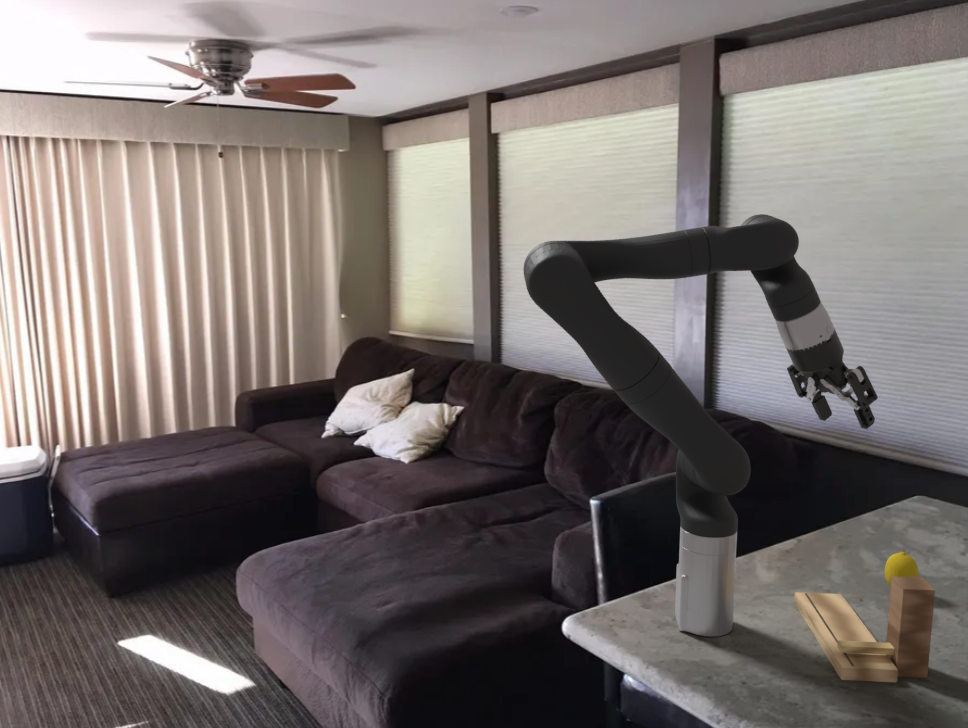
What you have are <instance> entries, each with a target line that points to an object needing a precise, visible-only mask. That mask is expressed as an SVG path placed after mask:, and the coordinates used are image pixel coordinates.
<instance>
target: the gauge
mask: <svg viewBox="0 0 968 728" xmlns="http://www.w3.org/2000/svg"><path fill="white" fill-rule="evenodd" d="M889 593H890V594H889V605H888V617H887V618H888V620H887V629H886V642H880V641H879V642H861V641H839V640H838V643H837V647H838V648H839V650H840V652H845V653H866V654H886V655H887V656H888V657H889V659H890V660H891V661H892V663H893V664H894V665H895V667H896V668H897V669H898V677H899V678H914V679H915V678H919V679H921V678H922V679H928V673H929V663H930V662H929V661H930V653H931V651H930V650H931V642H932V641H931V640H932V629H933V619H934V617H933V616H934V606H935V597H936V590H935V588H934V587H933V586H932V585H930V583H929V582H927V581H926V580H925V578H923V577H919V576H918V577H893V576H892V579H891V586H890V591H889ZM898 677H897V678H898Z"/></svg>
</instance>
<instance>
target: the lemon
mask: <svg viewBox="0 0 968 728" xmlns="http://www.w3.org/2000/svg"><path fill="white" fill-rule="evenodd" d="M892 576H893V577H919V568H918V564H917V562H916V560H915V559H914V558H913V557H912V556H911V555H909V554H908V553H906V552H905V551H899V552H896V553H894V554H891V556H889V558H887V561H886V562H885V567H884V579H885V581H886V583H887V584H888V586H890V587H891V579H892Z"/></svg>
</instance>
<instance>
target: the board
mask: <svg viewBox="0 0 968 728" xmlns="http://www.w3.org/2000/svg"><path fill="white" fill-rule="evenodd" d="M794 604H795V606H796V608H797V610H798V611H799V612H800V615H801V616H802V618H803V619H804V621H805V623H806V624H807V626H808V627H809V629H810V631H811V632H812V634H813V636H814V637H815V639H816V641H817V642H818V644H819V646H820V647H821V649H822V651H823V652H824V654H825V657H827V659H828V661H829V662H830V664H831V665H832V667H833V668H834V670H835V673H836V674H837V675H838V677H839V678H840V680H841V681H855V682H856V681H857V682H858V681H859V682H876V683H877V682H880V683H898V669H897V668H896V667H895V665H894V664H893V663H892V661H891V660H890V659H889V657H888V656H887V655H886V654H866V653H845V652H840V650H839V648H838V647H837V643H838V640H839V641H861V642H877V640H876V638H875V637H874V636H873V635H872V633H871V632H870V631H869V630H868V628H867V627H866V625H865V624H864V623H863V621H862V620H861V619H860V617H859V616H858V615H857V613H856V612H855V611H854V610H853V608H852V606H851V605H850V604H849V603H848V601H847V600H846V599H845V598H844V596H843V594H841V593H828V592H827V593H826V592H825V593H821V592H798V591H797V592H794Z"/></svg>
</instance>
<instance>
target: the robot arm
mask: <svg viewBox="0 0 968 728" xmlns="http://www.w3.org/2000/svg"><path fill="white" fill-rule="evenodd" d="M799 239H800V238H799V235H798V233H797V231H796V229H795V228H794V227H793V225H791V224H790V223H789V222H787V221H785V220H783V219H780V218H777V217H775V216H773V215H768V214H754V215H751V216H750V217H748V218H746V219H745V220H744V221H743V222H742V223H741V225H737V226H729V227H723V226H718V225H707V226H701V227H694V228H693V227H692V228H687V229H681V230H676V231H675V230H674V231H670V232H665V233H659V234H651V235H644V236H637V237H636V236H635V237H629V238H628V237H627V238H620V239H619V238H616V239H602V240H548V241H545V242H542V243H540V244H538V245H536V246H534V247H533V248H532V249H531V250H530V251H529V252H528V254H527V255H526V257H525V259H524V263H523V277H524V281H525V287H526V290H527V293H528V295H529V297H530V298H531V300H532V301H533V302H534V303H535V305H536V306H537V307H538V308H539V309H541V310H542V312H544V313H545V314H546V315H547V316H548V317H549V318H551V319H552V321H554V322H556V324H557V325H558V326H559V327H560V328H562V330H564V331H565V333H566V334H568V335H569V336H570V337H571V338H572V339H573V340H574V341H575V342H576V343H577V345H578V346H579V347H580V348H581V349H582V351H583V352H584V353H585V355H586V356H587V359H589V361H590V362H591V363H592V365H593V366H594V368H595V369H596V370H597V371H598V372H599V374H600V376H602V377H601V378H603V379H604V380H605V382H606V383H607V385H608V386H609V387H610V388H611V389H612V390H613V392H615V394H616V395H617V396H618V397H619V399H620V400H621V401H622V402H623V403H624V404H625V405H626V406H627V407H628V408H629V409H630V410H631V411H632V412H633V413H635V414H636V415H637V416H638V417H640V419H642V420H643V421H644V422H646V423H647V424H648V425H649V426H651V427H652V428H653V429H654V430H656V431H657V432H659V433H660V434H661V435H663V436H664V437H665V438H666V439H667V440H668V441H670V442H671V443H672V444H673V445H674V446H675V447H676V448H677V449H678V451H677V455H676V461H675V498H676V499H675V501H676V506H677V508H676V509H677V511H678V514H679V518H680V522H679V523H680V527H679V528H680V529H679V530H680V531H679V552H678V557H679V558H678V563H677V564H676V571H675V572H676V573H675V575H676V577H675V600H674V603H675V604H674V617H675V619H676V620H675V621H676V624H677V627H678V630H679V631H680V632H687V633H690V634H694V635H697V636H701V637H720V636H725V635H727V634H729V633H730V632H732V630H733V627H734V622H733V621H734V605H735V584H736V583H735V582H736V565H737V564H736V563H737V561H736V559H737V542H738V527H739V526H738V525H739V524H738V523H739V520H738V515H737V512H736V510H735V508H734V507H733V506H732V505H731V503H730V501H729V499H728V497H727V496H731V495H735V494H737V493H739V492H741V491H742V490H744V488H746V487H747V485H748V483H749V481H750V478H751V472H752V471H751V469H752V467H751V461H750V457H749V455H748V453H747V452H746V450H745V449H744V447H743V446H742V445H741V444H740V443H739V441H737V440H736V439H735V438H734V437H733V436H731V434H729V433H728V432H727V431H726V430H725V429H724V428H723V427H722V426H721V425H720V424H719V423H718V422H717V421H715V419H714V418H713V417H712V416H711V415H710V414H709V413H708V412H707V410H706V409H705V408H704V406H703V405H702V404H701V403H700V402H699V400H698V399H697V397H696V395H694V394H693V392H692V390H690V388H689V387H688V385H686V383H685V382H684V381H683V380H682V378H681V377H680V376H679V374H678V373H677V372H676V371H675V369H674V368H673V367H672V365H671V364H670V363H669V361H668V360H667V359H666V358H665V357H664V356H663V354H662V353H661V352H660V351H659V350H658V349H657V347H656V346H655V345H654V344H653V343H652V342H651V341H650V340H649V339H648V338H647V337H646V336H645V335H644V334H642V333H641V332H640V331H639V330H638V329H636V328H635V327H634V326H633V325H632V324H630V323H628V321H626V320H624V318H622V317H621V316H620V315H619V314H618V312H616V311H615V309H614V308H613V306H611V304H610V303H609V302H608V300H607V298H606V297H605V296H604V294H603V293H602V292H601V290H600V289H599V287H598V285H597V284H596V283H598V282H603V281H604V282H605V281H610V280H611V281H612V280H619V279H620V280H621V279H635V280H636V279H638V280H678V279H679V280H680V279H687V278H692V277H693V278H694V277H698V276H703V275H705V276H706V275H711V274H714V273H721V272H742V271H743V272H745V271H747V272H750V273H751V274H752V276H753V278H754V279H755V281H756V282H757V283H758V285H759V287H760V289H761V291H762V292H763V294H764V298H765V301H766V303H767V305H768V307H769V310H770V312H771V314H772V316H773V318H774V321H775V323H776V328H777V331H778V333H779V336H780V338H781V340H782V342H783V345H784V346H785V349H786V351H787V353H788V355H789V358H790V360H791V362H792V364H790V365H789V366H788V367H786V370H787V372H788V375H789V377H790V380H791V383H792V385H793V387H794V390H795V393H796V395H797V396H798V398H806V400H807V401H808V402H809V403H811V405H812V407H813V409H814V412H815V414H816V415H817V416H818V419H819V420H820V421H823V422H825V421H827V420H828V419H829V418H830V417H832V415H833V412H832V411H833V410H832V409H831V407H830V405H829V403H828V400H827V398H826V396H825V395H823V393H824V394H825V393H829V394H832V395H835V396H836V397H837V398H838V399H840V400H841V401H846V403H848V404H849V405H850V406H851V407H852V408H853V412H854V414H855V417H856V419H857V421H858V424H859V425H860V428H861V429H866V430H868V429H869V428H870V427H871V426H873V425H874V423H875V422H876V419H875V416H874V413H873V411H872V409H871V407H870V405H871V404H873V403H874V402H875V401H877V400H878V394H877V392H876V391H875V389H874V386H873V384H872V382H871V379H870V378H869V376H868V374H867V372H866V369H865V368H864V367H863V366H861V365H858V366H856V367H855V368H849V367H848V366H847V365H846V364H845V363H844V361H843V359H844V352H845V350H844V347H843V345H842V342H841V340H840V338H839V336H838V333H837V331H836V328H835V326H834V324H833V321H832V319H831V317H830V315H829V312H828V310H827V309H826V307H825V306H824V304H823V303H822V301H821V298H820V296H819V294H818V291H817V289H816V287H815V285H814V282H813V281H812V279H811V277H810V275H809V274H808V272H807V271H806V270H805V269H803V267H801V266H800V264H799V263H798V262H797V259H796V257H795V255H796V254H797V252H798V249H799V245H800V244H799V243H800V240H799ZM802 384H803V385H804V386H803V387H802ZM847 385H848V386H850V388H849V389H847V390H846V391H843V390H844V389H846V387H847ZM865 392H866V393H865ZM852 394H854V395H855V397H856V399H857V400H856V399H855V398H854V397H853V396H852Z"/></svg>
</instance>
